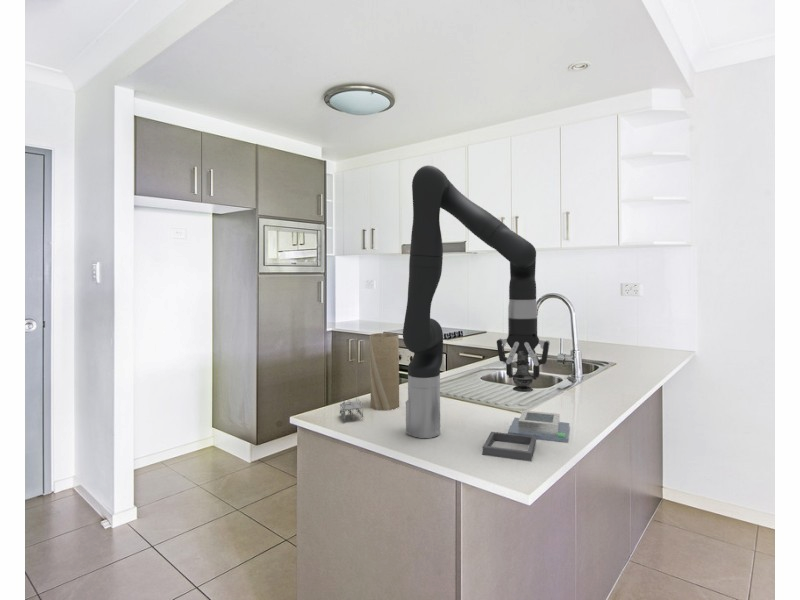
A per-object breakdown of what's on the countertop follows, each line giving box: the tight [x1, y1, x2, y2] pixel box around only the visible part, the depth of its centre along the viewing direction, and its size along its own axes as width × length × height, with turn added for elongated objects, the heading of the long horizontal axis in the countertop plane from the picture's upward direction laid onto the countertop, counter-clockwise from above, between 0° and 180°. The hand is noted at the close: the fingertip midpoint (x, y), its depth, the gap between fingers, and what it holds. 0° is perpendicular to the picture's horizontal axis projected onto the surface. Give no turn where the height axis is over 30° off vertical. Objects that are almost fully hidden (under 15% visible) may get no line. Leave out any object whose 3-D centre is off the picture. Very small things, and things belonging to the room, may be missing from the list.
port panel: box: [507, 410, 570, 443], centre depth 136 cm, size 16×14×4 cm
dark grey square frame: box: [482, 431, 537, 462], centre depth 123 cm, size 12×12×2 cm
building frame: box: [339, 396, 364, 422], centre depth 150 cm, size 6×8×6 cm
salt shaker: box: [512, 351, 534, 393], centre depth 126 cm, size 6×6×12 cm
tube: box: [369, 332, 400, 411], centre depth 162 cm, size 10×10×25 cm
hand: (522, 377), depth 126 cm, fingers closed on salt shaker, 6 cm apart
